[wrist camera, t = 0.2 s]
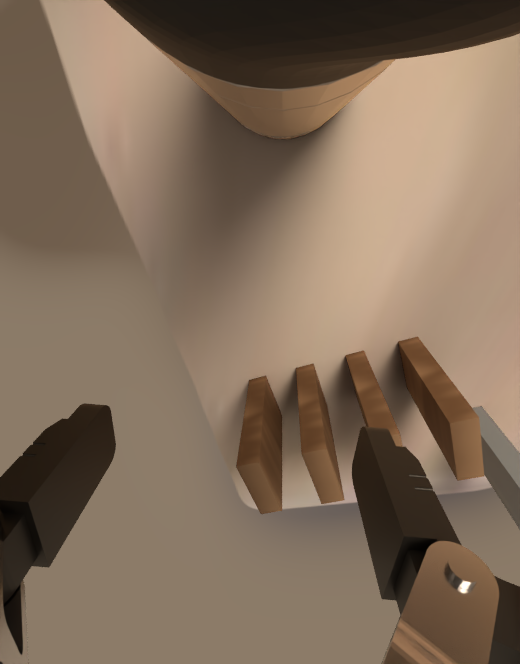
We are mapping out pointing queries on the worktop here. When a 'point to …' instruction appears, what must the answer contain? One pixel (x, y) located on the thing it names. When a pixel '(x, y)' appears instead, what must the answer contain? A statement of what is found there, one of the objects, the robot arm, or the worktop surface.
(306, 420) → the domino
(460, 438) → the domino
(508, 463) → the domino
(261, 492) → the domino
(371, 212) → the worktop surface
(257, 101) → the robot arm
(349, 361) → the domino
